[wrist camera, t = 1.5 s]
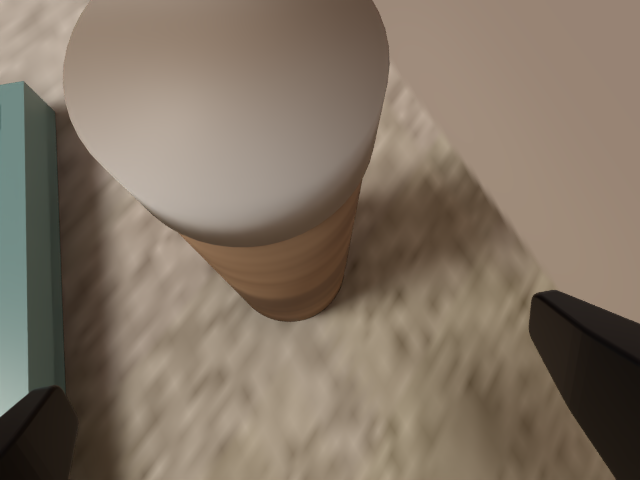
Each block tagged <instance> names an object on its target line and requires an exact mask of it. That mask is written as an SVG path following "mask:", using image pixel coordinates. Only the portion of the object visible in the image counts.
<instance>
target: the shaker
mask: <svg viewBox="0 0 640 480" xmlns="http://www.w3.org/2000/svg"><path fill="white" fill-rule="evenodd" d="M389 64H390V63H389V45H388V41H387V36H386V31H385V27H384V25H383V22H382V19H381V16H380V14H379V12H378V10H377V8H376V6H375V4H374V3H373V1H372V0H90V2H89V3H88V5H87V6H86V8H85V9H84V11H83V12H82V13H81V15H80V17H79V19H78V21H77V23H76V25H75V27H74V29H73V31H72V34H71V37H70V40H69V43H68V46H67V50H66V55H65V60H64V67H63V88H64V96H65V103H66V106H67V110H68V113H69V117H70V120H71V122H72V124H73V126H74V128H75V130H76V133H77V135H78V137H79V138H80V140H81V141H82V143H83V144H84V145H85V147H86V148H87V150H88V151H89V153H90V154H91V155H92V156H93V157H94V158H95V159H96V160H97V161H98V162H99V163H100V164H101V165H102V166H103V168H104V169H106V170H107V171H108V172H109V173H110V174H111V175H112V176H113V177H114V178H115V179H116V180H117V181H118V182H119V183H120V184H121V185H122V186H123V187H124V188H125V189H126V190H127V191H128V192H129V193H130V194H132V195H133V196H134V197H135V198H136V199H137V200H138V201H139V202H140V203H141V204H142V205H143V206H144V207H145V208H146V209H147V210H148V211H149V212H150V213H151V214H152V215H153V216H155V217H156V218H157V219H159V220H160V221H161V222H162V223H164V224H165V225H166V226H168V227H170V228H171V229H173V230H175V231H177V232H178V233H179V234H180V235H181V236H182V237H183V238H184V239H185V240H186V241H187V242H188V243H189V244H190V245H191V246H192V247H193V248H194V249H195V250H196V251H197V252H198V253H199V254H200V255H201V256H202V257H203V258H204V259H205V260H206V261H207V262H208V263H209V264H210V265H211V266H212V267H213V268H214V269H215V270H216V271H217V272H218V273H219V274H220V275H221V276H222V277H223V278H224V279H225V280H226V281H227V282H228V283H229V284H230V285H231V286H232V287H233V288H234V289H235V290H236V291H237V292H238V293H239V294H240V295H241V296H242V297H243V298H244V299H245V301H246V302H247V303H248V304H249V305H250V306H251V307H252V308H254V309H255V310H256V311H257V312H259V313H260V314H262V315H264V316H266V317H268V318H271V319H274V320H278V321H285V322H293V321H300V320H304V319H308V318H310V317H312V316H315V315H316V314H318V313H320V312H321V311H322V310H324V309H325V308H326V307H327V306H328V305H329V304H330V303H331V302H332V301H333V299H334V298H335V297H336V295H337V293H338V292H339V289H340V287H341V285H342V281H343V277H344V272H345V266H346V261H347V256H348V251H349V246H350V240H351V235H352V230H353V225H354V220H355V214H356V209H357V204H358V199H359V194H360V188H361V183H362V178H363V176H364V174H365V172H366V170H367V167H368V165H369V162H370V159H371V155H372V152H373V148H374V143H375V139H376V134H377V129H378V125H379V120H380V115H381V111H382V106H383V101H384V97H385V92H386V88H387V83H388V74H389Z"/></svg>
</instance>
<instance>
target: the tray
mask: <svg viewBox="0 0 640 480" xmlns="http://www.w3.org/2000/svg"><path fill="white" fill-rule="evenodd" d="M51 385H58V386H59V387H61V388H62V390H63V391H64V393H65V395H66V391H65V364H64V337H63V310H62V283H61V256H60V230H59V203H58V176H57V149H56V122H55V112H54V111H53V110H52V109H51V108H50V107H49V106H48V105H47V104H46V103H45V102H44V101H43V100H42V99H41V98H40V97H39V96H38V95H37V94H36V93H35V92H34V91H33V90H32V89H31V88H30V87H29V86H28V85H27V84H26V83H25V82H24V81H21V82H15V83H9V84H3V85H0V417H1V416H2V415H3V414H4V413H5V412H7V411H8V410H9V409H10V408H11V407H13V406H14V405H15V404H16V403H17V402H19V401H20V400H21V399H22V398H23V397H24V396H26V395H27V394H28V393H29V392H30V391H32V390H34V389H36V388H40V387H46V386H51Z"/></svg>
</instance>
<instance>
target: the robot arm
mask: <svg viewBox="0 0 640 480" xmlns="http://www.w3.org/2000/svg"><path fill="white" fill-rule="evenodd" d="M529 333H530V336H531V339H532V341H533V343H534V345H535V347H536V348H537V350H538V352H539V354H540V356H541V358H542V360H543V362H544V364H545V365H546V367H547V369H548V371H549V373H550V375H551V377H552V379H553V381H554V382H555V384H556V386H557V388H558V390H559V392H560V394H561V396H562V397H563V399H564V401H565V403H566V404H567V406H568V408H569V410H570V411H571V413H572V414H573V416H574V417H575V419H576V420H577V422H578V423H579V425H580V426H581V428H582V429H583V431H584V432H585V434H586V435H587V437H588V438H589V440H590V441H591V443H592V444H593V446H594V447H595V449H596V450H597V452H598V453H599V455H600V456H601V458H602V459H603V461H604V462H605V464H606V465H607V466H608V468H609V469H610V471H611V472H612V474H613V475H614V477H615V478H616V480H640V324H639V323H637V322H634V321H632V320H629V319H627V318H624V317H622V316H619V315H617V314H614V313H612V312H609V311H607V310H605V309H602V308H600V307H597V306H595V305H592V304H590V303H587V302H585V301H582V300H580V299H577V298H575V297H572V296H570V295H568V294H565V293H563V292H560V291H557V290H550V291H544V292H539V293H536V294H534V295H533V297H532V300H531V309H530V319H529ZM77 432H78V417H77V414H76V412H75V410H74V409H73V407H72V405H71V403H70V402H69V400H68V398H67V396H66V395H65V393H64V391H63V390H62V388H61V387H59V386H58V385H51V386H46V387H40V388H36V389H34V390H32V391H30V392H29V393H28V394H27V395H26V396H24V397H23V398H22V399H21V400H20V401H19V402H17V403H16V404H15V405H14V406H13V407H11V408H10V409H9V410H8V411H7V412H5V413H4V414H3V415H2V416H1V417H0V480H69V476H70V470H71V465H72V459H73V454H74V448H75V443H76V437H77Z"/></svg>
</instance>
